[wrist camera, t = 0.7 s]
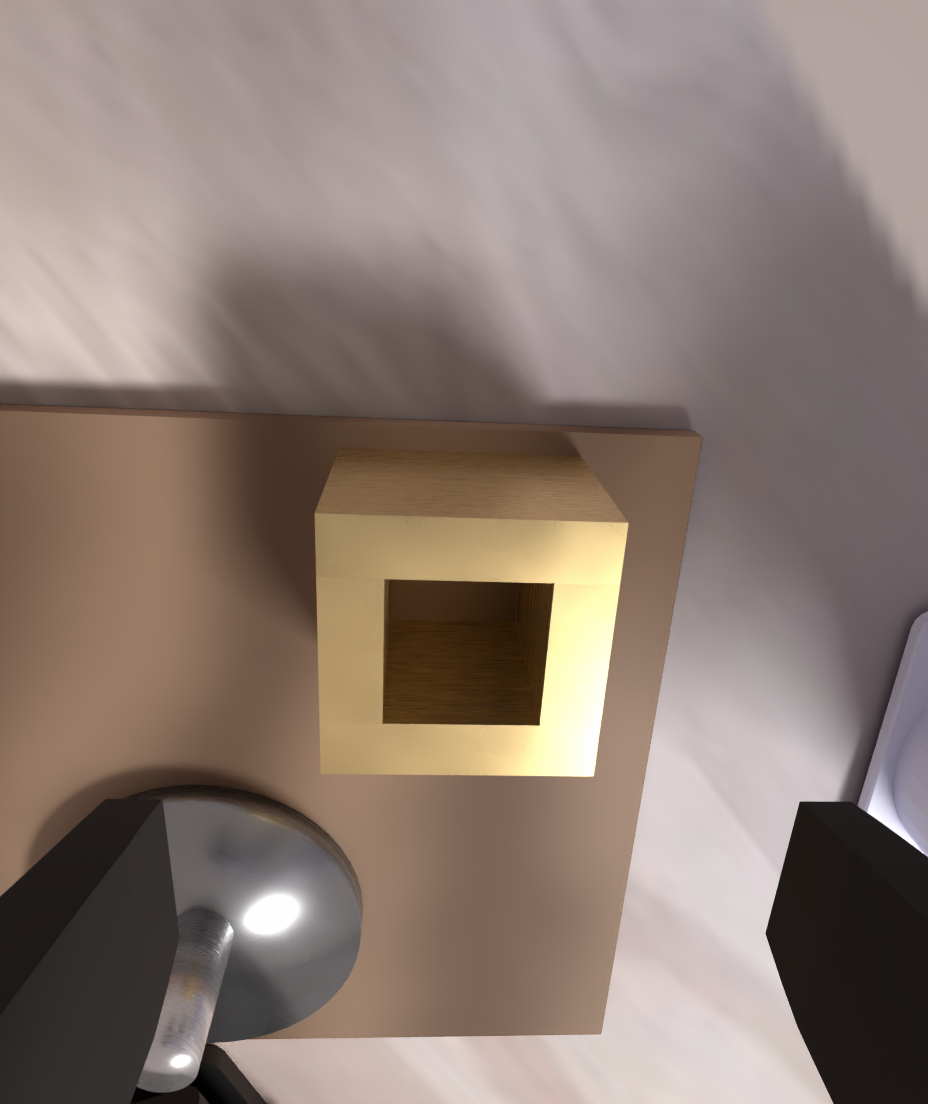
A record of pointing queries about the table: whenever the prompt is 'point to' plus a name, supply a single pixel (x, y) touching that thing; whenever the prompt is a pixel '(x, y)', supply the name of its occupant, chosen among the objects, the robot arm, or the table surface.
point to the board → (293, 692)
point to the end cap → (208, 1085)
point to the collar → (464, 646)
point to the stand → (248, 923)
